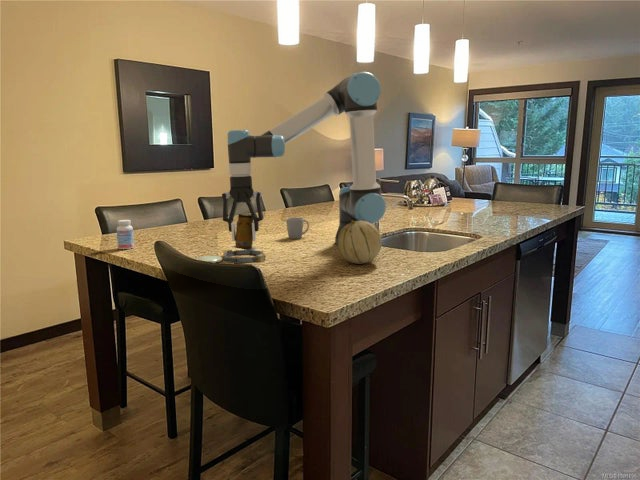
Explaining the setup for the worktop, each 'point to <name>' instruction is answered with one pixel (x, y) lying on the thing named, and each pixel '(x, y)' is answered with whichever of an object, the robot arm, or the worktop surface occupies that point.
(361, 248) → the cantaloupe
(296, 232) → the cup
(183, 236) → the worktop surface
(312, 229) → the worktop surface
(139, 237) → the worktop surface
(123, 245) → the pill bottle
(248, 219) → the condiment
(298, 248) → the worktop surface
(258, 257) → the collar
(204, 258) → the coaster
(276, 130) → the robot arm
